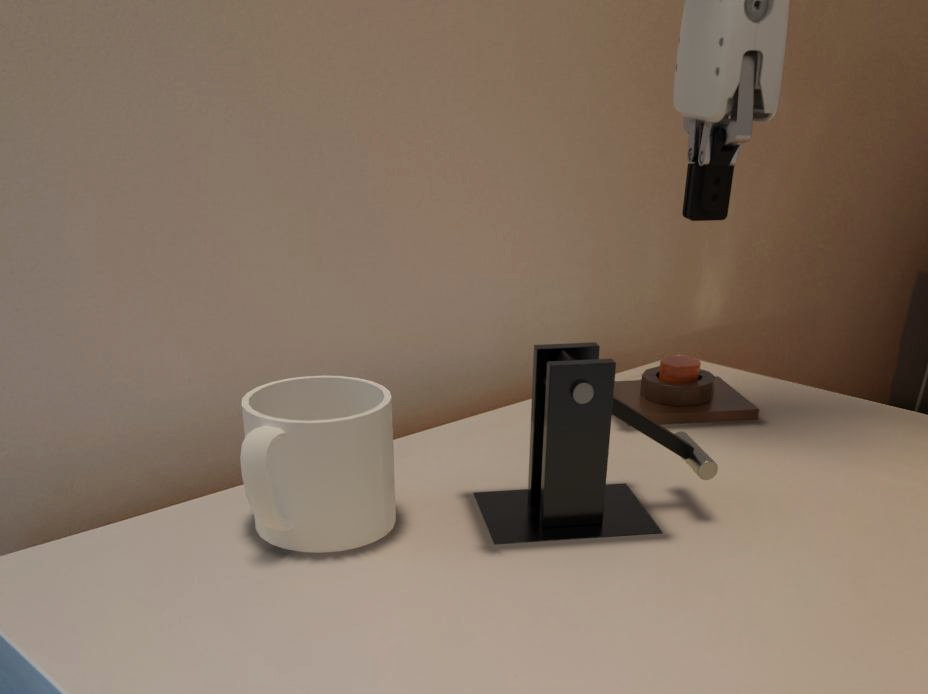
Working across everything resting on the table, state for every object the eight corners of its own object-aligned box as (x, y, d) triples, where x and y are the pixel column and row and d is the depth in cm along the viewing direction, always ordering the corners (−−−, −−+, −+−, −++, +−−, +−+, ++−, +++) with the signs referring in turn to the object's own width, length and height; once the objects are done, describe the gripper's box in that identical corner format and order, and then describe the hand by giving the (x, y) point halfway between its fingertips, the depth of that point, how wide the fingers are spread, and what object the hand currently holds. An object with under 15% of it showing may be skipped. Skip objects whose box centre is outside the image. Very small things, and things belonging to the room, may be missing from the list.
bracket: (624, 498, 78) (640, 332, 71) (661, 549, 70) (683, 368, 64) (472, 507, 76) (474, 339, 70) (493, 560, 69) (497, 377, 62)
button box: (715, 398, 99) (721, 357, 97) (756, 432, 90) (763, 389, 88) (597, 404, 97) (600, 363, 95) (627, 439, 89) (631, 395, 87)
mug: (310, 498, 78) (299, 368, 73) (421, 524, 74) (419, 388, 68) (204, 564, 69) (182, 419, 63) (324, 597, 65) (312, 446, 59)
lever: (676, 458, 75) (696, 431, 74) (705, 489, 70) (726, 461, 69) (536, 372, 70) (555, 342, 69) (556, 399, 65) (577, 367, 64)
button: (690, 373, 94) (692, 354, 93) (704, 385, 91) (706, 365, 90) (653, 375, 93) (655, 356, 92) (665, 386, 90) (668, 367, 89)
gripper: (840, -67, 65) (789, 234, 75) (746, -52, 77) (712, 203, 87) (731, -68, 64) (693, 236, 73) (653, -53, 76) (630, 205, 86)
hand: (704, 218), depth 80 cm, fingers closed
